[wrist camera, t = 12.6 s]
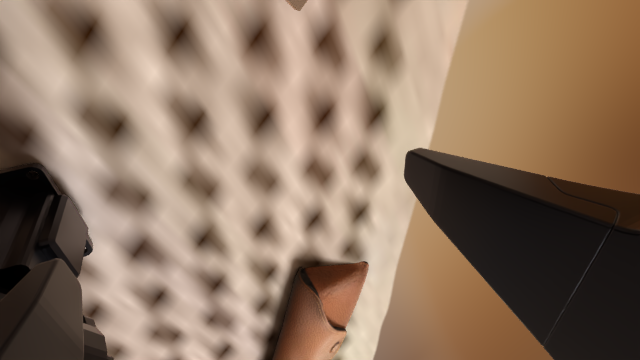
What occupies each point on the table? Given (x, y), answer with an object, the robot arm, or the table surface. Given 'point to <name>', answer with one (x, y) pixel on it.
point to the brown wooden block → (297, 4)
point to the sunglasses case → (319, 311)
